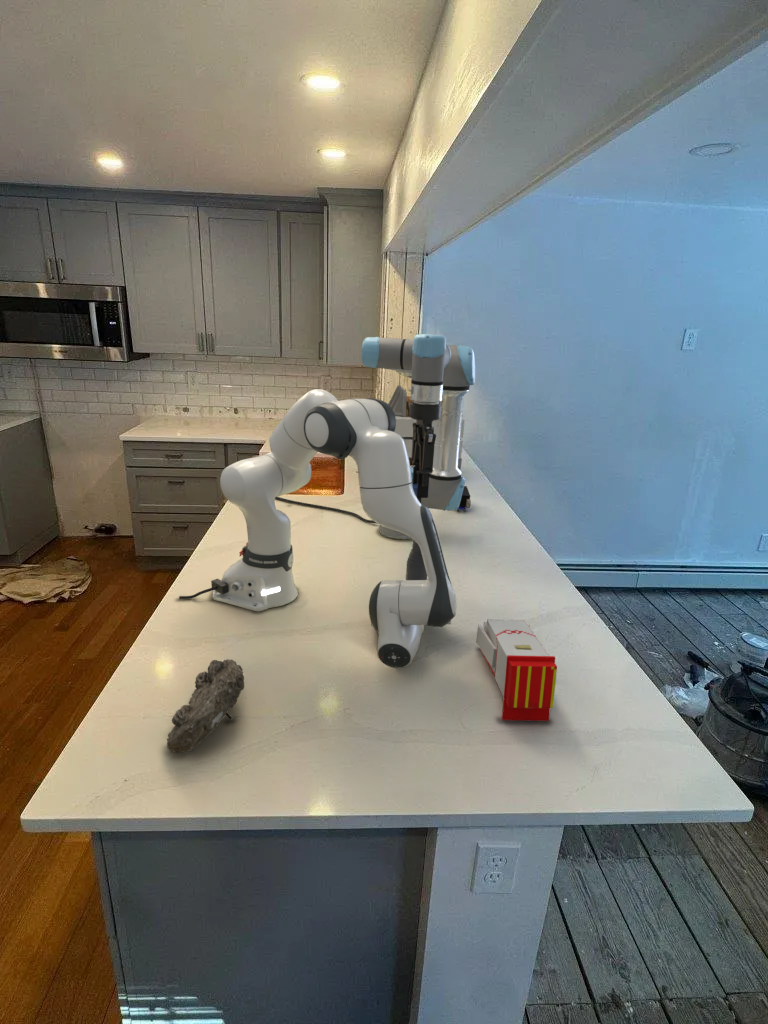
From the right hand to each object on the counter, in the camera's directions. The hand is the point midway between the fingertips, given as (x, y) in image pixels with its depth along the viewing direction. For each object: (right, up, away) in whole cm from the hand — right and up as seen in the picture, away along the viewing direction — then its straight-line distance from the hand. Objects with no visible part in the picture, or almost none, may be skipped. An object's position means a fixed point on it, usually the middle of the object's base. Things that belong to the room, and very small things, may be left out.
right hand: (419, 493), depth 144 cm
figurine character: (+22, -3, +85) cm, 88 cm away
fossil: (-42, -44, -36) cm, 70 cm away
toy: (+18, -41, -20) cm, 49 cm away
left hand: (-1, -25, +2) cm, 25 cm away
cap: (0, +2, -1) cm, 2 cm away
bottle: (-1, -32, +3) cm, 32 cm away
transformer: (+8, +14, +131) cm, 132 cm away
